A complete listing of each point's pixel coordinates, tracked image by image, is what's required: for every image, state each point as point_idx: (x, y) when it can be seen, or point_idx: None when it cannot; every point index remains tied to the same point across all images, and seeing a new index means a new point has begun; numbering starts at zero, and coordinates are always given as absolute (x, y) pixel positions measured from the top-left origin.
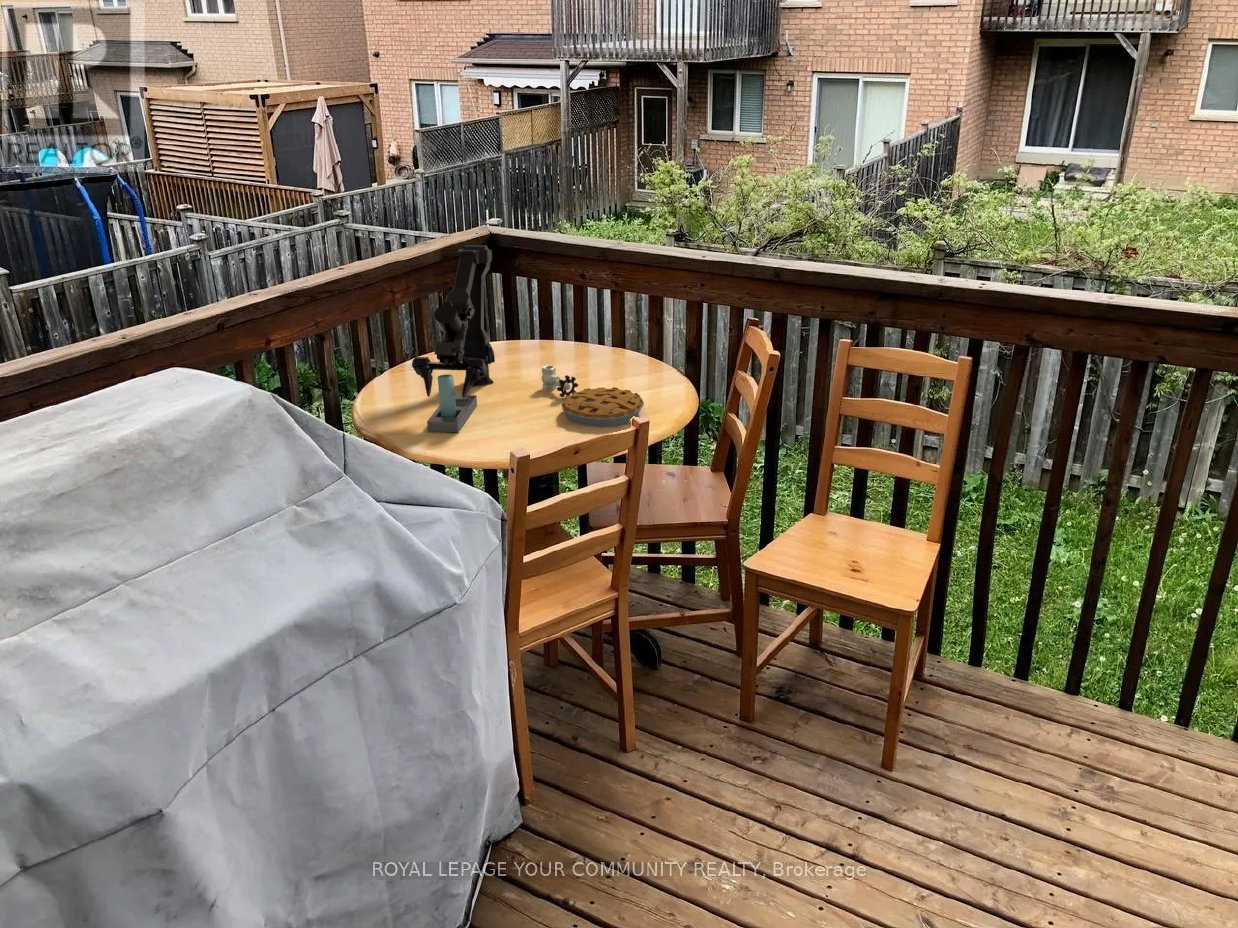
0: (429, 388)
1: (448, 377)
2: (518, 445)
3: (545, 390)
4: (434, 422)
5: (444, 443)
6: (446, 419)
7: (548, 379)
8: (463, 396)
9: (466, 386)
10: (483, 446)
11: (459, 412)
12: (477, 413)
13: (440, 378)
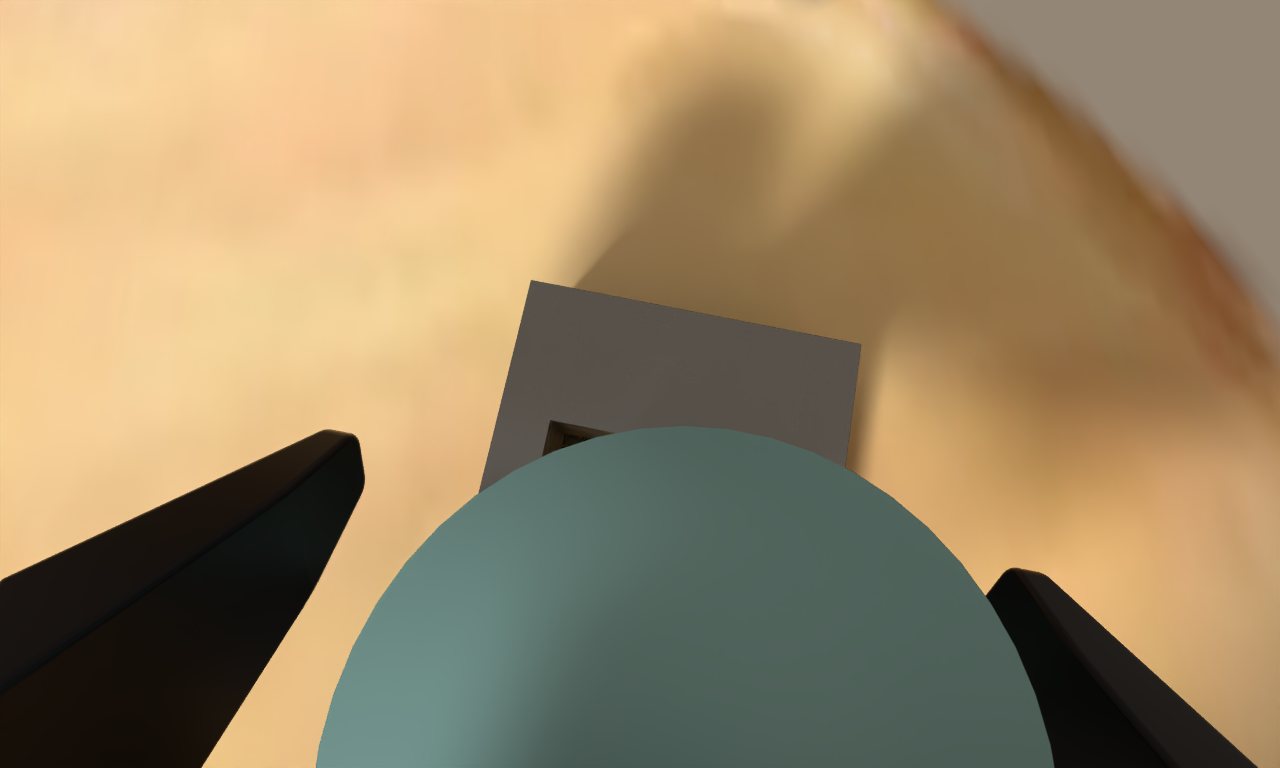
0: (1080, 736)
1: (538, 700)
2: (75, 18)
3: None
4: (779, 331)
5: (655, 121)
6: (656, 376)
7: None
8: (334, 434)
9: (112, 532)
10: (347, 31)
11: None
12: None
13: (894, 602)
